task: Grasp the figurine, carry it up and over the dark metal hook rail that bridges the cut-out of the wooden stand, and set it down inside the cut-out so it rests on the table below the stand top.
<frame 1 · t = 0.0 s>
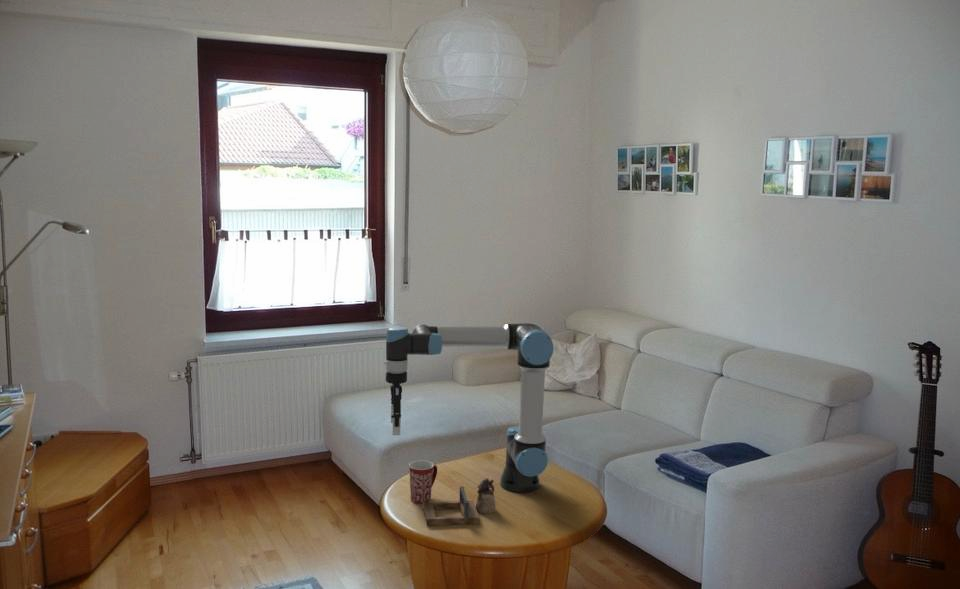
hand: (395, 428, 284), 28 cm above the table, fingers open, 13 cm apart
mug: (424, 498, 293), on the table
figurine: (485, 511, 285), on the table
wooden stand: (450, 516, 279), on the table
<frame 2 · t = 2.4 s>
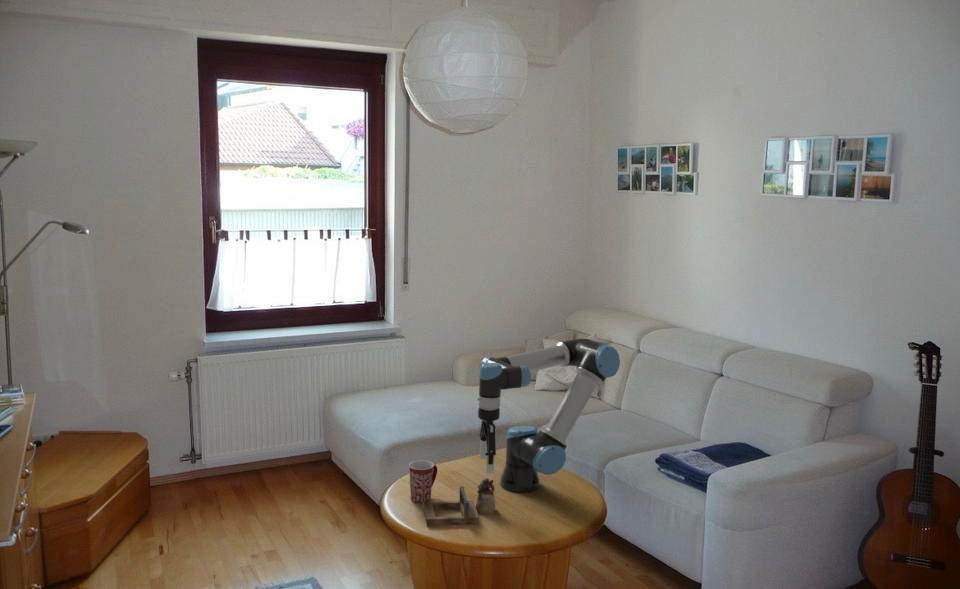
hand: (486, 465, 282), 17 cm above the table, fingers open, 13 cm apart
nothing on the table moved.
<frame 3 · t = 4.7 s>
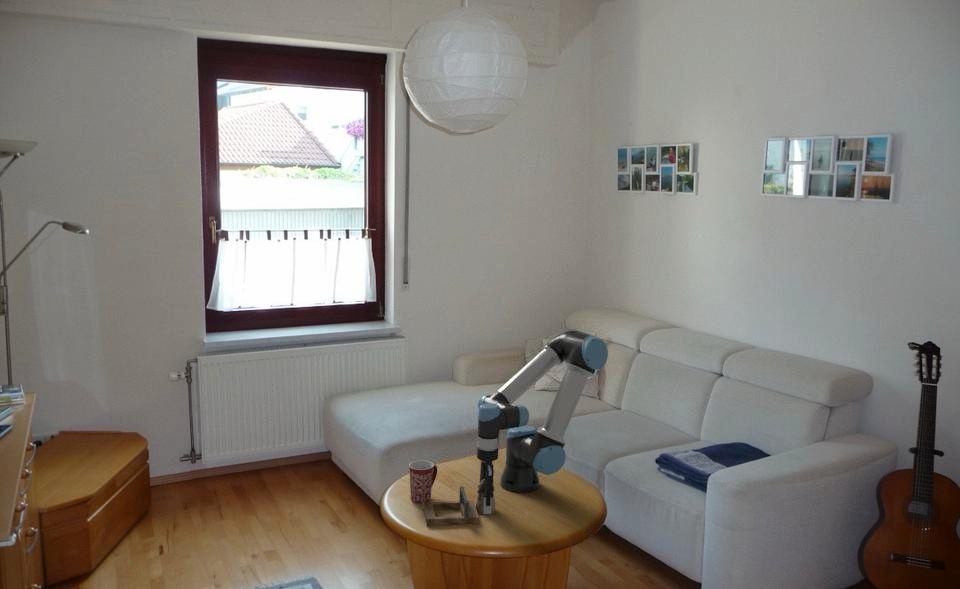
hand: (485, 508, 285), 1 cm above the table, fingers closed on figurine, 7 cm apart
figurine: (485, 510, 285), on the table, touching gripper
everything else where it was.
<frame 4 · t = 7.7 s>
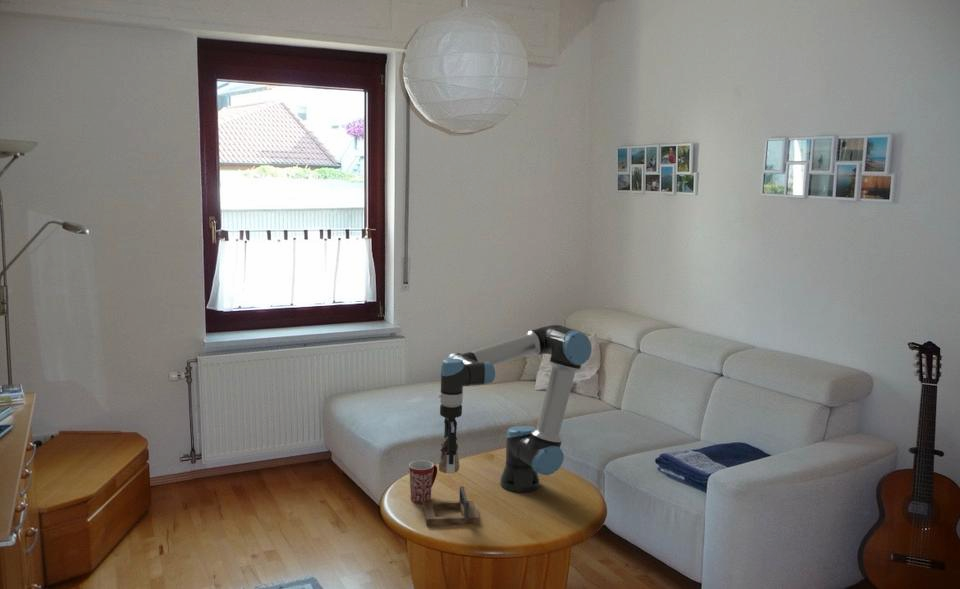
hand: (449, 467, 276), 18 cm above the table, fingers closed on figurine, 7 cm apart
figurine: (448, 470, 276), point 17 cm above the table, touching gripper
everything else where it was.
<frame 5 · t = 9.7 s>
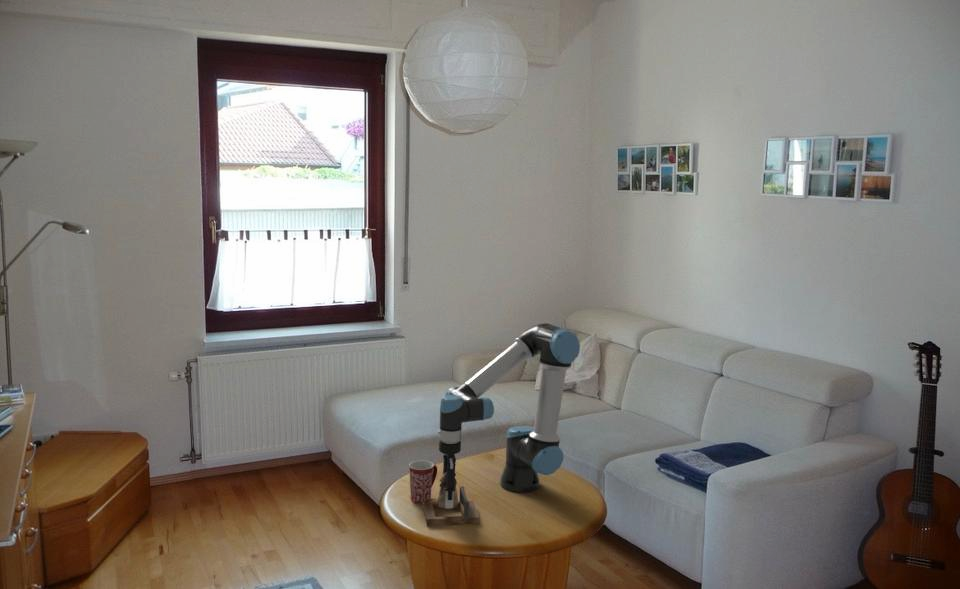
hand: (447, 503, 278), 5 cm above the table, fingers closed on figurine, 7 cm apart
figurine: (447, 505, 278), point 4 cm above the table, touching gripper
everything else where it was.
when the fingers open (3 cm above the table, at t = 11.0 s): figurine drops 2 cm, resting in wooden stand.
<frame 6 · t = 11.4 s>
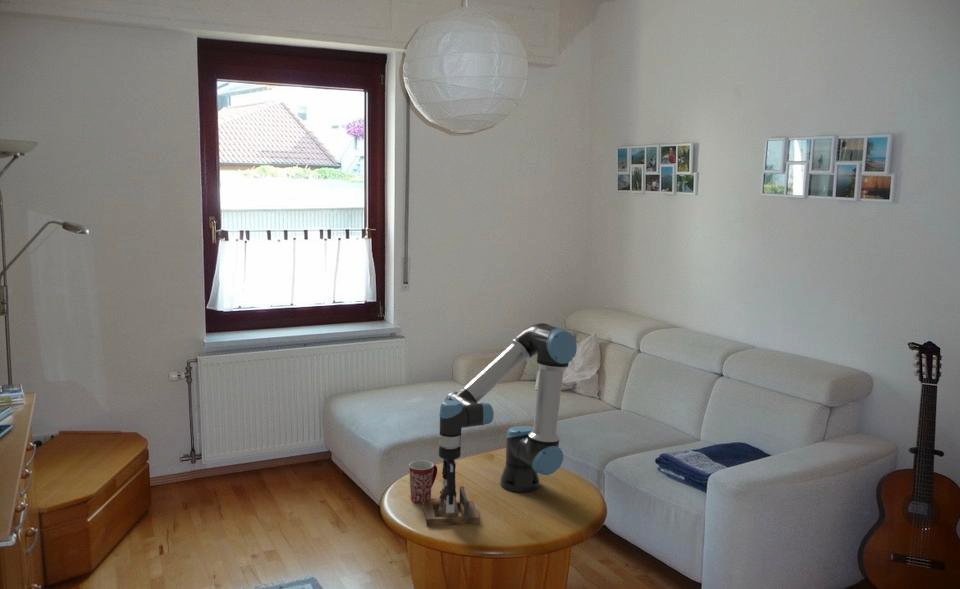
hand: (448, 504, 278), 4 cm above the table, fingers open, 12 cm apart
figurine: (447, 516, 279), resting in wooden stand
everything else where it was.
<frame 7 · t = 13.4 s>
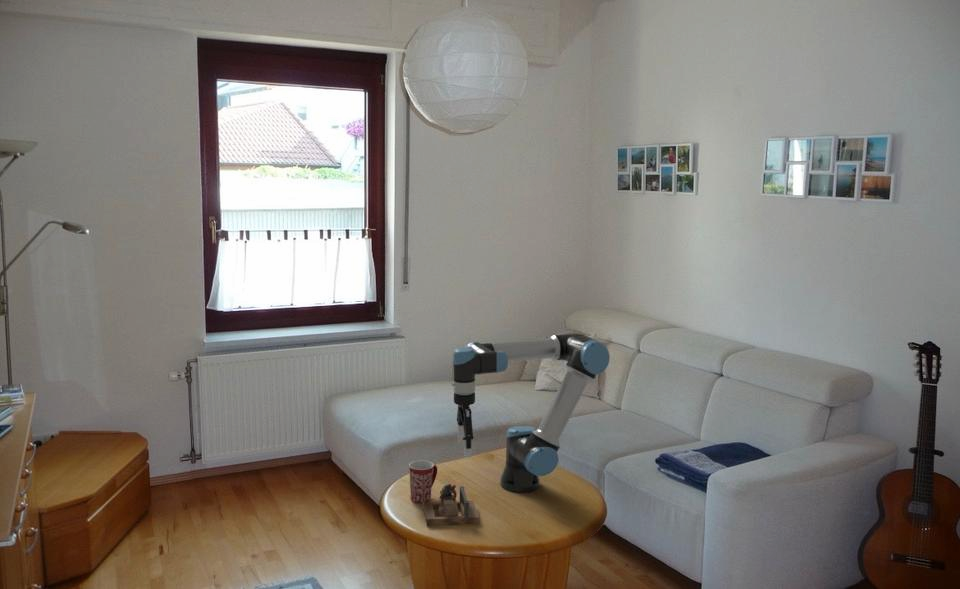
hand: (464, 449, 283), 22 cm above the table, fingers open, 13 cm apart
nothing on the table moved.
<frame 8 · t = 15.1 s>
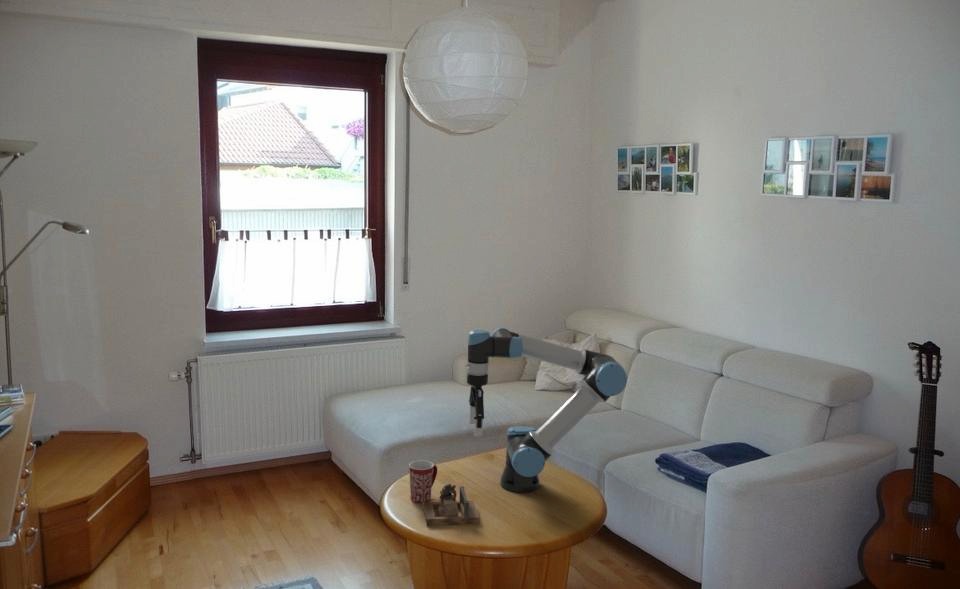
hand: (475, 429, 290), 27 cm above the table, fingers open, 13 cm apart
nothing on the table moved.
at the end: figurine inside the target area on the wooden stand (0.1 cm from its centre), point 0.0 cm above the wooden stand's base; the gripper is holding nothing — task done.
